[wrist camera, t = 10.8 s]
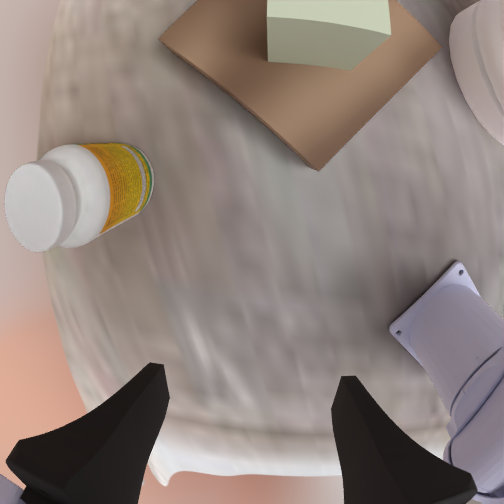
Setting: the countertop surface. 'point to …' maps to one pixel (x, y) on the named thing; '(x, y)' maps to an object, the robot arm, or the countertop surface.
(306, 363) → the countertop surface
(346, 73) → the walnut base
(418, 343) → the robot arm
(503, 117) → the honey pot
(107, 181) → the supplement bottle
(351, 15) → the sage block
